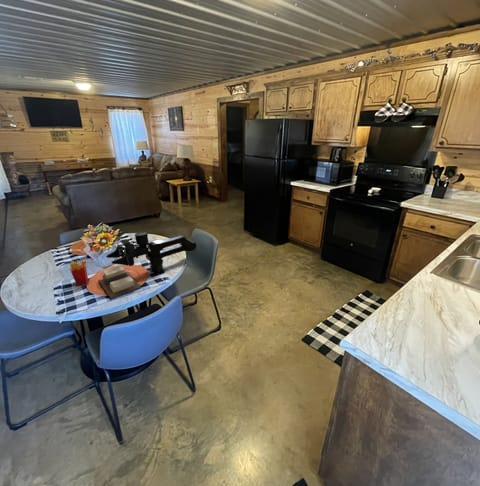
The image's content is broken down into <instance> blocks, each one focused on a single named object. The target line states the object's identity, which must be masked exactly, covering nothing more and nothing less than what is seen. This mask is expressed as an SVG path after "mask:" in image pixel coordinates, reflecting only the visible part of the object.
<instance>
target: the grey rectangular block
mask: <svg viewBox="0 0 480 486" xmlns="http://www.w3.org/2000/svg"><path fill="white" fill-rule="evenodd" d="M126 271H127V270H125V273H123V274H120V275H117V276H114V277H111V278H108V279H107V278H106V276H105V275H104V274H103V275H102V279H103V280H104V282H105V283H106V284H109V283H110V282H113V281H116V280H119V279H122V278H125V277H128V275H127V274H126Z"/></svg>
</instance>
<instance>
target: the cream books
mask: <svg viewBox="0 0 480 486" xmlns="http://www.w3.org/2000/svg"><path fill="white" fill-rule="evenodd" d="M132 286H134V281H133V279H132V278H131V277H130V276H128V277H125V278H122V279H119V280H116V281H113V282H110V289H111V290H112V291H113V293H115V292H118V291H121V290H124V289H126V288H129V287H132Z"/></svg>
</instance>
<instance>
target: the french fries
mask: <svg viewBox="0 0 480 486" xmlns="http://www.w3.org/2000/svg"><path fill="white" fill-rule="evenodd" d="M87 262H88V260H87V259H85V260H84V259H82V261H81V260H79V259H77V260H76V261H72V260H71V261H70V264H69V265H70V268H69V271H70V273H71V276H72V278H73V280H74V282H75V284H76V287H79V286H84V285H85V286H86V285H88V281H89V278H88V272H87V271H88V270H87V265H86V263H87Z"/></svg>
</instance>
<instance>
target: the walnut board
mask: <svg viewBox="0 0 480 486" xmlns="http://www.w3.org/2000/svg"><path fill="white" fill-rule="evenodd" d="M125 271H126V274H127V275H128V276H130V277H131V278H132V279H133V281H134V286H132V287H129V288H126V289H124V290H121V291H118V292H115V293H113V291H112V290H111V289H110V283H109V284H106V283H105V282H104V280H103V278H102V279H99V280H98V283H99V284H100V286H101V287H102V288H103V290H104V292H105V293H106V295H107V296H108V297H109V299H110V300H113V299H116V298H119V297H121V296H124V295H126V294H129V293H132V292H135V291H138V290H139V289H142V286H141V284H140V283H139V282H138V281H137V280H136V279H135V278H134V277H133V276H132V275H131V274H130V272H128V271H127V270H125Z"/></svg>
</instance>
